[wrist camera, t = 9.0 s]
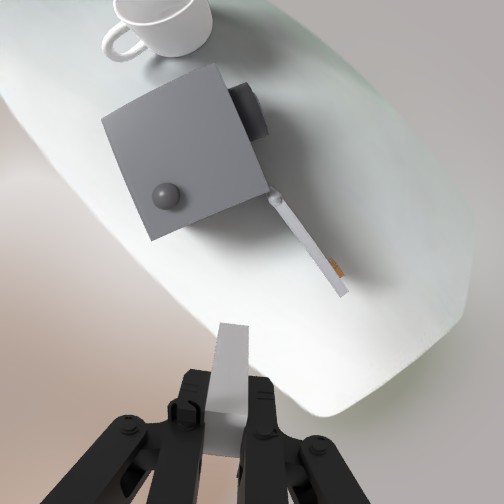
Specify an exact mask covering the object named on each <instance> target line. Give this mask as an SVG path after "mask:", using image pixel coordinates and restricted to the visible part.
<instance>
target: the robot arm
mask: <svg viewBox="0 0 504 504" xmlns="http://www.w3.org/2000/svg"><path fill="white" fill-rule="evenodd" d="M248 339H249V326H244V325H236V324H227V323H220V326H219V331H218V337H217V342H216V349H215V354H214V360H213V365H212V371H211V372H208V371H201V370H195V369H190V370H189V371H188V372H187V373H186V374H185V375H184V377H183V381H182V384H181V388H180V391H179V395H178V398H176V399H174V400H172V401H171V402H170V403H169V405H168V419H167V420H166V421H163V422H160V423H145V422H144V421H143V420H142V419H141V418H139V417H137V416H134V415H123V416H120V417H118V418H116V419H115V420H114V421H113V422H112V423H111V424H110V425H109V426H108V428H107V429H106V430H105V431H104V432H103V433H102V435H101V436H100V437H99V438H98V439H97V440H96V441H95V442H94V443H93V445H92V446H91V447H90V448H89V449H88V450H87V451H86V452H85V454H84V455H83V456H82V457H81V458H80V459H79V460H78V462H77V463H76V464H75V465H74V466H73V467H72V468H71V470H70V471H69V472H68V473H67V474H66V475H65V476H64V477H63V478H62V480H61V481H60V482H59V483H58V484H57V485H56V486H55V488H54V489H53V490H52V491H51V492H50V493H49V494H48V495H47V496H46V498H45V499H44V500H43V501H42V502H41V503H40V504H130V503H131V502H132V500H133V499H134V497H135V496H136V494H137V492H138V491H139V489H140V488H141V486H142V485H143V483H144V482H145V480H146V479H147V477H148V476H149V474H150V473H151V470H155V471H154V476H153V479H152V483H151V487H150V491H149V495H148V498H147V502H146V504H196V503H197V496H198V488H199V480H200V473H201V465H202V454H208V455H216V456H225V457H235V458H239V457H240V464H239V468H238V473H237V478H238V492H237V504H289V503H288V493H287V488H288V490H289V493H290V495H291V497H292V500H293V502H294V504H370V502H369V500H368V499H367V497H366V495H365V494H364V492H363V490H362V489H361V487H360V486H359V484H358V482H357V481H356V479H355V477H354V476H353V474H352V472H351V471H350V469H349V468H348V466H347V464H346V463H345V461H344V459H343V458H342V456H341V454H340V453H339V451H338V450H337V448H336V446H335V444H334V443H333V442H332V441H331V440H330V439H328V438H326V437H324V436H319V435H313V436H310V437H307V438H305V439H304V440H303V441H302V440H298V439H295V438H292V437H289V436H287V435H286V434H284V433H283V432H282V431H281V430H280V429H279V427H278V424H277V416H276V406H275V396H274V385H273V383H272V382H271V381H270V379H269V378H268V377H257V376H248Z"/></svg>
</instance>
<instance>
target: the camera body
mask: <svg viewBox="0 0 504 504" xmlns="http://www.w3.org/2000/svg"><path fill="white" fill-rule="evenodd" d="M101 121H102V124H103V126H104V129H105V132H106V135H107V137H108V140H109V142H110V145H111V148H112V150H113V153H114V155H115V158H116V160H117V163H118V165H119V168H120V170H121V173H122V175H123V178H124V180H125V182H126V185H127V187H128V190H129V192H130V194H131V197H132V199H133V201H134V204H135V206H136V208H137V210H138V213H139V215H140V217H141V219H142V222H143V224H144V226H145V228H146V230H147V233H148V235H149V237H150V239H151V241H153V240H155V239H158V238H160V237H162V236H164V235H167V234H169V233H171V232H173V231H176V230H178V229H180V228H183V227H185V226H187V225H189V224H192V223H194V222H196V221H199V220H201V219H203V218H206V217H208V216H211V215H213V214H215V213H218V212H220V211H222V210H225V209H227V208H230V207H232V206H235V205H237V204H239V203H242V202H244V201H247V200H249V199H252V198H254V197H257V196H259V195H262V194H264V193H267V192H269V191H270V189H269V187H268V184H267V182H266V179H265V177H264V174H263V172H262V170H261V167H260V165H259V162H258V160H257V157H256V155H255V153H254V150H253V148H252V146H251V143H250V141H253V140H255V139H258V138H261V137H263V136H266V135H268V129H267V125H266V119H265V116H264V113H263V110H262V108H261V105H260V103H259V101H258V99H257V97H256V95H255V94H254V93H253V92H252V90H251V88H250V86H249V85H248V83H247V82H246V83H243V84H240V85H238V86H235V87H232V88H230V89H227V88H226V85H225V83H224V81H223V79H222V77H221V74H220V72H219V70H218V68H217V66H216V63H215V62H214V63H212V64H209V65H207V66H204V67H202V68H200V69H197V70H195V71H193V72H190V73H188V74H186V75H184V76H181V77H179V78H177V79H175V80H173V81H171V82H169V83H167V84H164V85H162V86H160V87H158V88H156V89H154V90H152V91H150V92H148V93H147V94H145V95H143V96H141V97H139V98H137V99H135V100H133V101H132V102H130V103H128V104H126V105H124V106H123V107H121V108H119V109H117V110H116V111H114V112H112V113H111V114H109V115H107V116H106V117H104V118H102V119H101Z"/></svg>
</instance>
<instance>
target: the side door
mask: <svg viewBox="0 0 504 504" xmlns="http://www.w3.org/2000/svg"><path fill="white" fill-rule="evenodd" d="M268 187H269V189H270V191H269V192H267V193H265V195H266V197H267V199H268V201H269V203H270V204H271V205H272V206H274V207H275V209H276V210H277V211H278V213H279V214H280V215H281V217H282V218H283V219H284V221H285V222H286V223H287V225H288V226H289V227H290V229H291V230H292V231H293V233H294V234H295V235H296V237H297V238H298V239H299V241H300V242H301V244H302V245H303V246H304V248H305V249H306V250H307V252H308V253H309V255H310V256H311V257H312V259H313V260H314V261H315V263H316V264H317V266H318V267H319V268H320V270H321V271H322V273H323V274H324V275H325V277H326V278H327V280H328V281H329V282H330V284H331V285H332V287H333V288H334V289H335V291H336V292H337V294H338V295H339V297H342V296H343V295H345V294H346V293H347V292H349V291H348V289H347V288H346V287H345V285H344V284H343V282H342V281H341V279H340V278H341V277H343V276H344V274H343V272H342V271H341V269H340V268H339V267H338V265H337V264H336V263H335V262H334V260H333V259H332V258H331V259H330V260H329V261H328V260H327V259H326V258H325V256H324V255H323V253H322V252H321V250H320V249H319V248H318V246H317V245H316V243H315V242H314V241H313V239H312V238H311V236H310V235H309V234H308V232H307V231H306V230H305V228H304V227H303V225H302V224H301V223H300V221H299V220H298V219H297V217H296V216H295V214H294V213H293V212H292V210H291V209H290V208H289V206H288V205H287V204H286V202H285V201H284V200H283V197H282V195H281V194H280V193H279V192H278V191H277V190H276V189H275V188H274V187H272V186H268Z"/></svg>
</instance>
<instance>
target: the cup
mask: <svg viewBox="0 0 504 504" xmlns="http://www.w3.org/2000/svg"><path fill="white" fill-rule="evenodd" d="M114 10H115V12H116V14H117V16H118V17H119V18H120V19H121V20H122V21H121V22H120V23H118V24H117V25H116V26H115V27H113V28H112V29H111V30H110V31H109V32H108V33H107V34H106V36H105V37H104V39H103V42H102V50H103V53H104V54H105V56H106V57H107V58H108V59H110V60H111V61H114V62H126V61H129V60H131V59H133V58H135V57H136V56H138V55H140V54H141V53H142V52H144V51H145V50H146V49H148V48H149V49H150V50H151V51H153V52H154V53H156V54H158V55H161V56H164V57H179V56H183V55H187V54H189V53H191V52H193V51H195V50H197V49H198V48H199V47H201V46H202V45H203V44H204V43H205V41H206V40H207V39H208V37H209V35H210V33H211V31H212V25H213V20H212V15H211V11H210V7H209V3H208V0H114ZM130 29H131V30H132V32H133V33H134V34H135V35H136V36H137V37H138V38H139V39H140V40H141V41H140V42H139V43H138V44H137V45H135V46H134V47H133V48H132V49H130V50H129V51H127V52H125V53H117V52H116V51H115V50H114V49H113V43H114V41H115V40H116V39H117V38H119V37H120V36H121V35H122V34H124V33H125V32H127V31H128V30H130Z"/></svg>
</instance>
